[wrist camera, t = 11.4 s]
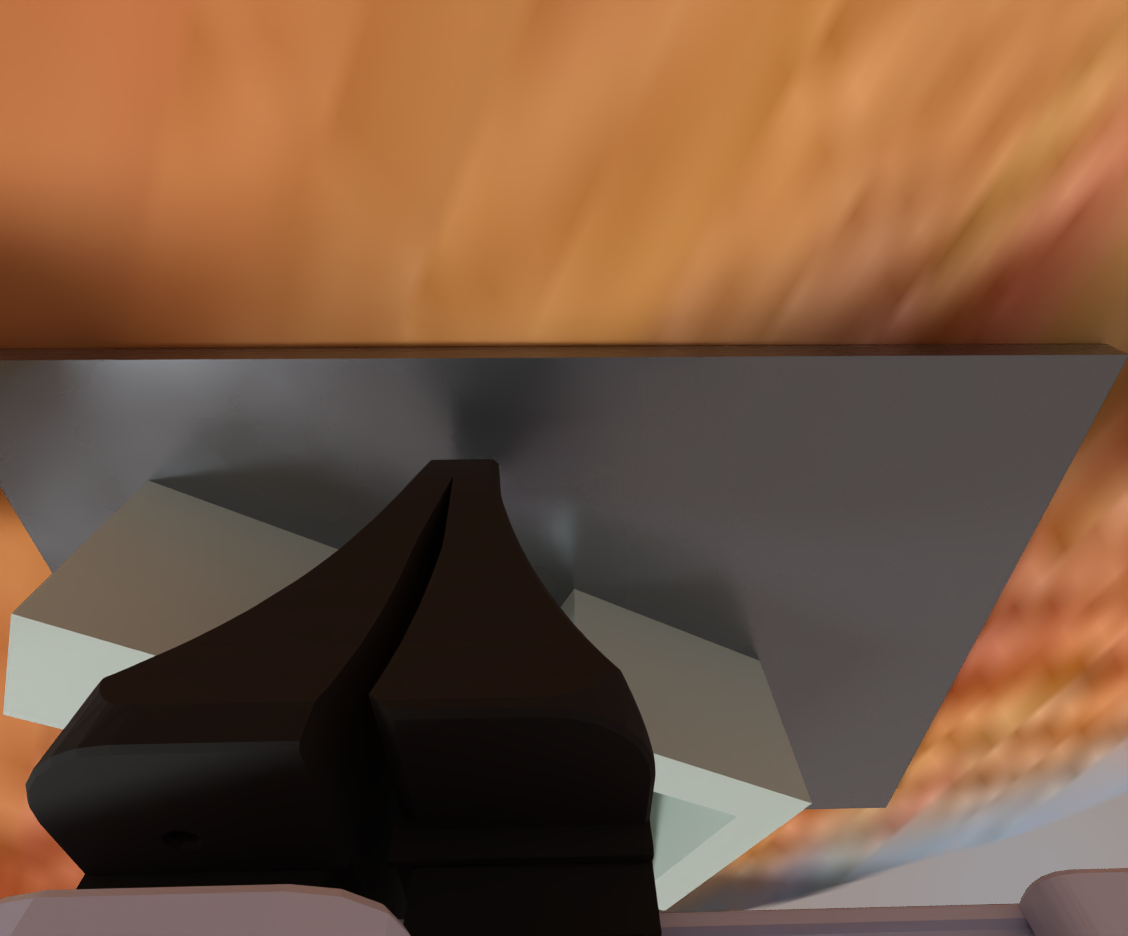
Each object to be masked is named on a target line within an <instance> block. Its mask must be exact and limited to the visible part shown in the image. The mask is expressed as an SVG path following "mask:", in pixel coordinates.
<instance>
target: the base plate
mask: <svg viewBox="0 0 1128 936" xmlns="http://www.w3.org/2000/svg"><path fill="white" fill-rule="evenodd" d="M1127 357H1128V354H1126V353H1124V352H1122V351H1120V350H1118V349H1116V348H1113V347H1111V346H1109V345H1107V344H999V345H789V346H579V347H369V348H159V349H0V487H1V489H2V490H3V492H4V494H5V495H6V497H7V499H8V500H9V502H10V504H11V505H12V507H13V509H14V510H15V512H16V514H17V515H18V517H19V519H20V520H21V522H22V524H23V525H24V527H25V528H26V530H27V532H28V533H29V535H30V537H31V538H32V540H33V542H34V543H35V545H36V547H37V548H38V550H39V552H40V553H41V555H42V557H43V558H44V560H45V562H46V563H47V565H48V566H49V568H50V570H51V571H52V573H54V572H55V571H56V570H57V569H58V568H59V567H60V566H61V565H62V564H63V563H64V562H65V561H66V560H67V559H68V558H69V557H70V556H71V555H72V554H73V553H74V552H75V551H76V550H77V549H78V548H79V547H80V546H81V545H82V544H83V543H84V542H85V541H86V540H87V539H88V538H89V537H90V536H91V535H92V534H93V533H94V532H95V531H97V530H98V529H99V528H100V527H101V526H102V525H103V524H104V523H105V522H106V521H107V520H108V519H109V518H110V517H111V516H112V515H113V514H114V513H115V512H116V511H117V510H118V509H119V508H120V507H121V506H122V505H123V504H124V503H125V502H126V501H127V500H128V499H129V498H130V497H131V496H132V495H133V494H134V493H135V492H136V491H137V490H138V489H139V488H141V487H142V486H143V485H144V484H145V483H146V482H147V481H148V480H149V481H151V482H154V483H157V484H160V485H162V486H165V487H168V488H171V489H173V490H176V491H179V492H182V493H184V494H187V495H190V496H193V497H195V498H198V499H201V500H204V501H206V502H209V503H212V504H215V505H217V506H220V507H223V508H226V509H228V510H231V511H234V512H237V513H239V514H242V515H245V516H248V517H250V518H253V519H256V520H258V521H261V522H264V523H267V524H269V525H272V526H275V527H278V528H280V529H283V530H286V531H289V532H291V533H294V534H297V535H300V536H302V537H305V538H308V539H311V540H313V541H316V542H319V543H322V544H324V545H327V546H330V547H333V548H335V549H338V550H339V549H340V548H341V547H342V546H344V545H345V544H346V543H347V542H348V541H349V540H351V539H352V538H353V537H354V536H355V535H356V534H357V533H358V532H360V531H361V530H362V529H363V528H364V527H365V526H366V525H367V524H368V523H370V522H371V521H372V520H373V519H374V518H375V517H376V516H377V515H378V514H379V513H380V512H381V511H382V510H383V509H384V508H385V507H386V506H387V505H388V504H389V503H390V502H391V501H392V500H393V499H394V498H395V497H396V496H397V495H398V494H399V493H400V492H401V491H402V490H403V489H404V488H405V487H406V486H407V484H408V483H409V482H410V481H411V480H412V479H413V478H414V477H415V476H416V475H417V474H418V473H419V472H420V471H421V470H422V469H423V468H424V467H425V466H426V465H427V464H428V463H429V462H430V461H431V460H449V459H494V460H495V461H496V462H497V463H498V464H499V472H500V486H501V497H502V501H503V504H504V507H505V510H506V512H507V515H508V518H509V521H510V523H511V526H512V528H513V530H514V533H515V535H516V537H517V539H518V541H519V543H520V546H521V547H522V549H523V551H524V553H525V555H526V557H527V559H528V561H529V562H530V564H531V566H532V567H533V569H534V571H535V572H536V574H537V576H538V577H539V579H540V580H541V582H542V583H543V585H544V586H545V588H546V589H547V591H548V592H549V593H550V595H551V596H552V597H553V599H554V600H555V601H556V602H557V604H558V605H559V606H560V607H561V606H562V605H563V603H564V602H565V601H566V599H567V598H568V597H569V595H570V594H571V593H572V591H573V590H574V589H576V590H579V591H581V592H584V593H586V594H589V595H591V596H594V597H597V598H599V599H602V600H604V601H607V602H609V603H612V604H615V605H617V606H620V607H622V608H625V609H627V610H630V611H633V612H635V613H638V614H640V615H643V616H645V617H648V618H651V619H653V620H656V621H658V622H661V623H664V624H666V625H669V626H671V627H674V628H676V629H679V630H682V631H684V632H687V633H689V634H692V635H694V636H697V637H700V638H702V639H705V640H707V641H710V642H712V643H715V644H718V645H720V646H723V647H725V648H728V649H730V650H733V651H736V652H738V653H741V654H743V655H746V656H749V657H751V658H754V659H756V660H759V661H760V663H761V666H762V669H763V671H764V674H765V677H766V679H767V682H768V685H769V688H770V690H771V693H772V696H773V699H774V701H775V704H776V707H777V709H778V712H779V715H780V718H781V720H782V723H783V726H784V729H785V731H786V734H787V737H788V739H789V742H790V745H791V748H792V750H793V753H794V756H795V759H796V761H797V764H798V767H799V769H800V772H801V775H802V778H803V780H804V783H805V786H806V789H807V791H808V794H809V797H810V799H811V802H812V804H810V805H809V806H808V807H806V808H805V809H838V808H886V806H887V805H888V803H889V801H890V799H891V797H892V795H893V793H894V792H895V790H896V788H897V786H898V784H899V782H900V780H901V779H902V777H903V775H904V773H905V771H906V769H907V767H908V765H909V764H910V762H911V760H912V758H913V756H914V754H915V752H916V751H917V749H918V747H919V745H920V743H921V741H922V739H923V738H924V736H925V734H926V732H927V730H928V728H929V726H930V724H931V723H932V721H933V719H934V717H935V715H936V713H937V711H938V710H939V708H940V706H941V704H942V702H943V700H944V698H945V697H946V695H947V693H948V691H949V689H950V687H951V685H952V683H953V682H954V680H955V678H956V676H957V674H958V672H959V670H960V669H961V667H962V665H963V663H964V661H965V659H966V657H967V656H968V654H969V652H970V650H971V648H972V646H973V644H974V642H975V641H976V639H977V637H978V635H979V633H980V631H981V629H982V628H983V626H984V624H985V622H986V620H987V618H988V616H989V615H990V613H991V611H992V609H993V607H994V605H995V603H996V601H997V600H998V598H999V596H1000V594H1001V592H1002V590H1003V588H1004V587H1005V585H1006V583H1007V581H1008V579H1009V577H1010V575H1011V574H1012V572H1013V570H1014V568H1015V566H1016V564H1017V562H1018V560H1019V559H1020V557H1021V555H1022V553H1023V551H1024V549H1025V547H1026V546H1027V544H1028V542H1029V540H1030V538H1031V536H1032V534H1033V533H1034V531H1035V529H1036V527H1037V525H1038V523H1039V521H1040V520H1041V518H1042V516H1043V514H1044V512H1045V510H1046V508H1047V506H1048V505H1049V503H1050V501H1051V499H1052V497H1053V495H1054V493H1055V492H1056V490H1057V488H1058V486H1059V484H1060V482H1061V480H1062V479H1063V477H1064V475H1065V473H1066V471H1067V469H1068V467H1069V465H1070V464H1071V462H1072V460H1073V458H1074V456H1075V454H1076V452H1077V451H1078V449H1079V447H1080V445H1081V443H1082V441H1083V439H1084V438H1085V436H1086V434H1087V432H1088V430H1089V428H1090V426H1091V424H1092V423H1093V421H1094V419H1095V417H1096V415H1097V413H1098V411H1099V410H1100V408H1101V406H1102V404H1103V402H1104V400H1105V398H1106V397H1107V395H1108V393H1109V391H1110V389H1111V387H1112V385H1113V383H1114V382H1115V380H1116V378H1117V376H1118V374H1119V372H1120V370H1121V369H1122V367H1123V365H1124V363H1125V361H1126V359H1127Z"/></svg>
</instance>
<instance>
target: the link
mask: <svg viewBox="0 0 1128 936" xmlns="http://www.w3.org/2000/svg"><path fill="white" fill-rule="evenodd" d="M337 550H338V549H335V548H333V547H330V546H327V545H324V544H322V543H319V542H316V541H313V540H311V539H308V538H305V537H302V536H300V535H297V534H294V533H291V532H289V531H286V530H283V529H280V528H278V527H275V526H272V525H269V524H267V523H264V522H261V521H258V520H256V519H253V518H250V517H248V516H245V515H242V514H239V513H237V512H234V511H231V510H228V509H226V508H223V507H220V506H217V505H215V504H212V503H209V502H206V501H204V500H201V499H198V498H195V497H193V496H190V495H187V494H184V493H182V492H179V491H176V490H173V489H171V488H168V487H165V486H162V485H160V484H157V483H154V482H151V481H149V480H148V481H147V482H146V483H145V484H144V485H143V486H142V487H141V488H139V489H138V490H137V491H136V492H135V493H134V494H133V495H132V496H131V497H130V498H129V499H128V500H127V501H126V502H125V503H124V504H123V505H122V506H121V507H120V508H119V509H118V510H117V511H116V512H115V513H114V514H113V515H112V516H111V517H110V518H109V519H108V520H107V521H106V522H105V523H104V524H103V525H102V526H101V527H100V528H99V529H98V530H97V531H95V532H94V533H93V534H92V535H91V536H90V537H89V538H88V539H87V540H86V541H85V542H84V543H83V544H82V545H81V546H80V547H79V548H78V549H77V550H76V551H75V552H74V553H73V554H72V555H71V556H70V557H69V558H68V559H67V560H66V561H65V562H64V563H63V564H62V565H61V566H60V567H59V568H58V569H57V570H56V571H55V572H54V573H52V574H51V575H50V576H49V577H48V578H47V579H46V580H45V581H44V582H43V583H42V584H41V585H40V586H39V587H38V588H37V589H36V590H35V591H34V592H33V593H32V594H31V595H30V596H29V597H28V598H27V599H26V600H25V601H24V602H23V603H22V604H21V605H20V606H19V607H18V608H17V609H16V610H15V611H14V612H13V613H12V614H11V624H10V636H9V649H8V661H7V674H6V686H5V699H4V711H3V715H7V716H11V717H15V718H19V719H23V720H27V721H31V722H35V723H39V724H43V725H47V726H51V727H55V728H59V729H64V728H65V727H66V725H67V724H68V723H69V721H70V720H71V719H72V718H73V716H74V715H75V714H76V712H77V711H78V710H79V708H80V707H81V706H82V704H83V703H84V702H85V700H86V699H87V698H88V696H89V695H90V694H91V693H92V691H93V690H94V689H95V687H96V686H97V685H98V684H99V682H100V681H101V680H102V679H103V678H105V677H107V676H110V675H112V674H115V673H117V672H119V671H122V670H124V669H126V668H129V667H131V666H133V665H136V664H138V663H140V662H143V661H145V660H147V659H149V658H152V657H154V656H156V655H159V654H161V653H163V652H166V651H168V650H170V649H172V648H175V647H177V646H179V645H181V644H183V643H185V642H187V641H190V640H192V639H194V638H196V637H198V636H200V635H202V634H204V633H206V632H208V631H210V630H212V629H214V628H216V627H218V626H220V625H222V624H223V623H225V622H227V621H229V620H231V619H233V618H234V617H236V616H238V615H240V614H242V613H244V612H246V611H247V610H249V609H251V608H253V607H254V606H256V605H258V604H259V603H261V602H262V601H264V600H266V599H267V598H269V597H270V596H272V595H274V594H275V593H277V592H278V591H280V590H282V589H283V588H285V587H286V586H288V585H290V584H291V583H293V582H295V581H296V580H298V579H299V578H301V577H302V576H304V575H305V574H306V573H308V572H309V571H311V570H312V569H313V568H315V567H316V566H317V565H319V564H320V563H322V562H323V561H324V560H326V559H327V558H328V557H330V556H331V555H332V554H333V553H335V552H336V551H337ZM561 609H562V610H563V611H564V612H565V614H566V615H567V616H568V617H569V619H570V620H571V621H572V622H573V624H574V625H575V626H576V627H577V628H578V629H579V630H580V631H581V632H582V633H583V634H584V635H585V637H586V638H587V639H588V640H589V641H590V642H591V643H592V644H593V645H594V646H595V647H596V648H597V649H598V650H599V651H600V652H601V653H602V654H603V655H604V656H606V657H607V658H608V659H609V660H610V661H611V662H612V663H613V664H614V665H615V666H617V667H618V668H619V669H620V670H621V671H622V673H623V676H624V678H625V680H626V682H627V684H628V686H629V688H630V690H631V692H632V695H633V697H634V699H635V701H636V704H637V706H638V708H639V711H640V713H641V716H642V718H643V721H644V724H645V726H646V729H647V732H648V735H649V739H650V742H651V746H652V750H653V753H654V759H655V771H656V776H655V784H654V791H653V798H652V806H651V813H650V824H651V832H652V839H653V846H654V858H653V860H652V863H653V871H654V878H655V886H656V893H657V901H658V908H659V910H663V911H665V910H667V909H668V908H669V907H671V906H672V905H674V904H675V903H676V902H678V901H679V900H680V899H682V898H683V897H684V896H686V895H687V894H689V893H690V892H691V891H693V890H694V889H695V888H697V887H698V886H700V885H701V884H702V883H704V882H705V881H706V880H708V879H709V878H710V877H712V876H713V875H715V874H716V873H717V872H719V871H720V870H721V869H723V868H724V867H726V866H727V865H728V864H730V863H731V862H732V861H734V860H735V859H737V858H738V857H739V856H741V855H742V854H743V853H745V852H746V851H747V850H749V849H750V848H752V847H753V846H754V845H756V844H757V843H758V842H760V841H761V840H763V839H764V838H765V837H767V836H768V835H769V834H771V833H772V832H773V831H775V830H776V829H778V828H779V827H780V826H782V825H783V824H784V823H786V822H787V821H789V820H790V819H791V818H793V817H794V816H795V815H797V814H798V813H800V812H801V811H802V810H804V809H805V808H806V807H808V806H809V805H810V804H812V802H811V799H810V797H809V794H808V791H807V789H806V786H805V783H804V780H803V778H802V775H801V772H800V769H799V767H798V764H797V761H796V759H795V756H794V753H793V750H792V748H791V745H790V742H789V739H788V737H787V734H786V731H785V729H784V726H783V723H782V720H781V718H780V715H779V712H778V709H777V707H776V704H775V701H774V699H773V696H772V693H771V690H770V688H769V685H768V682H767V679H766V677H765V674H764V671H763V669H762V666H761V663H760V661H759V660H756V659H754V658H751V657H749V656H746V655H743V654H741V653H738V652H736V651H733V650H730V649H728V648H725V647H723V646H720V645H718V644H715V643H712V642H710V641H707V640H705V639H702V638H700V637H697V636H694V635H692V634H689V633H687V632H684V631H682V630H679V629H676V628H674V627H671V626H669V625H666V624H664V623H661V622H658V621H656V620H653V619H651V618H648V617H645V616H643V615H640V614H638V613H635V612H633V611H630V610H627V609H625V608H622V607H620V606H617V605H615V604H612V603H609V602H607V601H604V600H602V599H599V598H597V597H594V596H591V595H589V594H586V593H584V592H581V591H579V590H576V589H574V590H573V591H572V593H571V594H570V595H569V597H568V598H567V599H566V601H565V602H564V603H563V605H562V606H561Z"/></svg>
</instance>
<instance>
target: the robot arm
mask: <svg viewBox="0 0 1128 936" xmlns="http://www.w3.org/2000/svg"><path fill="white" fill-rule="evenodd" d="M655 776H656V771H655V759H654V753H653V750H652V746H651V742H650V739H649V735H648V732H647V729H646V726H645V724H644V721H643V718H642V716H641V713H640V711H639V708H638V706H637V704H636V701H635V699H634V697H633V695H632V692H631V690H630V688H629V686H628V684H627V682H626V680H625V678H624V676H623V673H622V671H621V670H620V669H619V668H618V667H617V666H615V665H614V664H613V663H612V662H611V661H610V660H609V659H608V658H607V657H606V656H604V655H603V654H602V653H601V652H600V651H599V650H598V649H597V648H596V647H595V646H594V645H593V644H592V643H591V642H590V641H589V640H588V639H587V638H586V637H585V635H584V634H583V633H582V632H581V631H580V630H579V629H578V628H577V627H576V626H575V625H574V624H573V622H572V621H571V620H570V619H569V617H568V616H567V615H566V614H565V612H564V611H563V610H562V609H561V607H560V606H559V605H558V604H557V602H556V601H555V600H554V599H553V597H552V596H551V595H550V593H549V592H548V591H547V589H546V588H545V586H544V585H543V583H542V582H541V580H540V579H539V577H538V576H537V574H536V572H535V571H534V569H533V567H532V566H531V564H530V562H529V561H528V559H527V557H526V555H525V553H524V551H523V549H522V547H521V546H520V543H519V541H518V539H517V537H516V535H515V533H514V530H513V528H512V526H511V523H510V521H509V518H508V515H507V512H506V510H505V507H504V504H503V501H502V497H501V486H500V472H499V464H498V463H497V462H496V461H495V460H494V459H449V460H431V461H430V462H429V463H428V464H427V465H426V466H425V467H424V468H423V469H422V470H421V471H420V472H419V473H418V474H417V475H416V476H415V477H414V478H413V479H412V480H411V481H410V482H409V483H408V484H407V486H406V487H405V488H404V489H403V490H402V491H401V492H400V493H399V494H398V495H397V496H396V497H395V498H394V499H393V500H392V501H391V502H390V503H389V504H388V505H387V506H386V507H385V508H384V509H383V510H382V511H381V512H380V513H379V514H378V515H377V516H376V517H375V518H374V519H373V520H372V521H371V522H370V523H368V524H367V525H366V526H365V527H364V528H363V529H362V530H361V531H360V532H358V533H357V534H356V535H355V536H354V537H353V538H352V539H351V540H349V541H348V542H347V543H346V544H345V545H344V546H342V547H341V548H340V549H339V550H337V551H336V552H335V553H333V554H332V555H331V556H330V557H328V558H327V559H326V560H324V561H323V562H322V563H320V564H319V565H317V566H316V567H315V568H313V569H312V570H311V571H309V572H308V573H306V574H305V575H304V576H302V577H301V578H299V579H298V580H296V581H295V582H293V583H291V584H290V585H288V586H286V587H285V588H283V589H282V590H280V591H278V592H277V593H275V594H274V595H272V596H270V597H269V598H267V599H266V600H264V601H262V602H261V603H259V604H258V605H256V606H254V607H253V608H251V609H249V610H247V611H246V612H244V613H242V614H240V615H238V616H236V617H234V618H233V619H231V620H229V621H227V622H225V623H223V624H222V625H220V626H218V627H216V628H214V629H212V630H210V631H208V632H206V633H204V634H202V635H200V636H198V637H196V638H194V639H192V640H190V641H187V642H185V643H183V644H181V645H179V646H177V647H175V648H172V649H170V650H168V651H166V652H163V653H161V654H159V655H156V656H154V657H152V658H149V659H147V660H145V661H143V662H140V663H138V664H136V665H133V666H131V667H129V668H126V669H124V670H122V671H119V672H117V673H115V674H112V675H110V676H107V677H105V678H103V679H102V680H101V681H100V682H99V684H98V685H97V686H96V687H95V689H94V690H93V691H92V693H91V694H90V695H89V696H88V698H87V699H86V700H85V702H84V703H83V704H82V706H81V707H80V708H79V710H78V711H77V712H76V714H75V715H74V716H73V718H72V719H71V720H70V721H69V723H68V724H67V725H66V727H65V728H64V729H63V731H62V732H61V733H60V735H59V736H58V737H57V739H56V740H55V741H54V743H53V744H52V745H51V746H50V748H49V749H48V750H47V752H46V753H45V754H44V756H43V757H42V758H41V760H40V761H39V762H38V764H37V765H36V766H35V768H34V769H33V771H32V773H31V775H30V777H29V779H28V781H27V783H26V791H27V800H28V804H29V807H30V809H31V810H32V812H33V813H34V815H35V817H36V818H37V820H38V821H39V823H40V824H41V825H42V826H43V827H44V829H45V830H46V831H47V832H48V833H49V834H50V835H51V836H52V837H53V839H54V840H55V841H56V842H57V843H58V844H59V845H60V846H61V847H62V849H63V850H64V851H65V852H66V853H67V854H68V855H69V856H70V857H71V859H72V860H73V861H74V862H75V863H76V864H77V865H78V866H79V868H80V869H81V870H82V871H83V872H84V873H85V875H84V877H83V878H82V880H81V882H80V884H79V885H78V887H77V889H73V890H45V891H39V892H33V893H28V894H22V895H16V896H10V897H4V898H2V899H0V936H1128V868H1120V869H1080V870H1064V871H1057V872H1053V873H1050V874H1048V875H1045V876H1042V877H1040V878H1039V879H1038V880H1036V881H1034V882H1033V883H1032V884H1031V885H1030V886H1029V887H1028V888H1027V890H1026V891H1025V893H1024V895H1023V896H1022V898H1021V901H1020V904H987V905H950V906H908V907H870V908H830V909H793V910H752V911H713V912H674V913H659V908H658V901H657V893H656V886H655V878H654V871H653V863H652V860H653V858H654V846H653V839H652V832H651V824H650V813H651V806H652V798H653V791H654V784H655Z"/></svg>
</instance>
